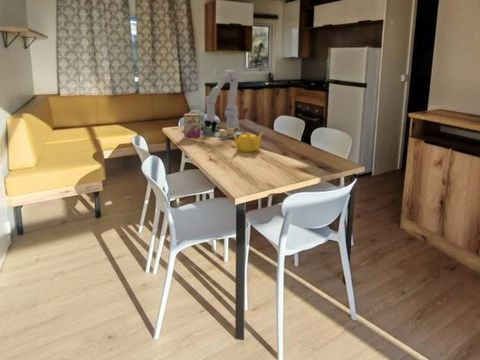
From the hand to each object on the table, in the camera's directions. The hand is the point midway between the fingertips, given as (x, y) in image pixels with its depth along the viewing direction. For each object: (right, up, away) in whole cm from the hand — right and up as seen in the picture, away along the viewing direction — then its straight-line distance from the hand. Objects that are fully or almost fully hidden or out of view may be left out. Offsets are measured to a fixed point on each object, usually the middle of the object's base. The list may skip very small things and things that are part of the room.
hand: (211, 131), depth 286 cm
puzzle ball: (-13, +3, +15) cm, 19 cm away
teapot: (+27, -18, -45) cm, 56 cm away
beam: (0, -1, 0) cm, 1 cm away
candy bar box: (-12, -6, -12) cm, 18 cm away
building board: (+6, -3, -4) cm, 8 cm away
